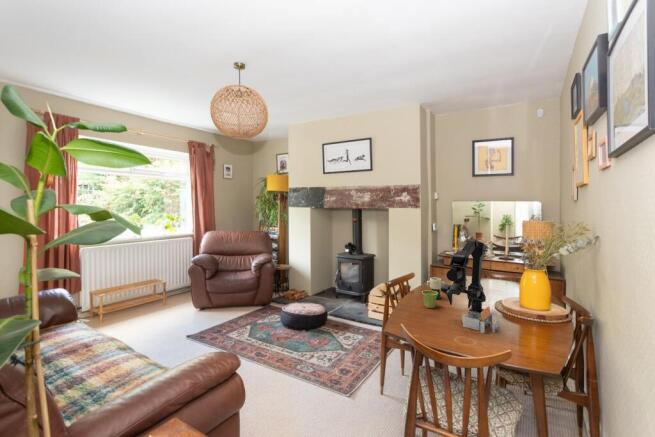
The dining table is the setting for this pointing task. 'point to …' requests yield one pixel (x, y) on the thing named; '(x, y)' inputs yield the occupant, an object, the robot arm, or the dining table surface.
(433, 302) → the plant pot
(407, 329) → the dining table surface
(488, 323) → the lynch pin
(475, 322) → the block
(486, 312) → the panel
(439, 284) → the character mug
